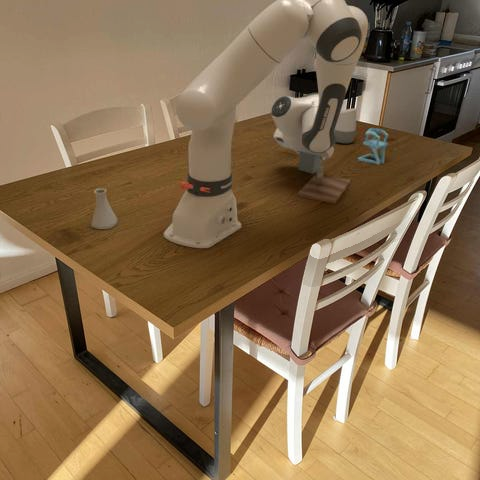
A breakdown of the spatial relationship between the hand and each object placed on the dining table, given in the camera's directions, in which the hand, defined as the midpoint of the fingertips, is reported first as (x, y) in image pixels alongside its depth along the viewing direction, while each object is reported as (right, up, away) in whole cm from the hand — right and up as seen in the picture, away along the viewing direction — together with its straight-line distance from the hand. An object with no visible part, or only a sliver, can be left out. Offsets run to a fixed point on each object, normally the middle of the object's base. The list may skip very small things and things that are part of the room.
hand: (311, 155), depth 169 cm
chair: (+25, 0, +13) cm, 28 cm away
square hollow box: (0, -4, +3) cm, 6 cm away
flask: (-62, -25, -36) cm, 76 cm away
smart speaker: (+18, +11, +32) cm, 38 cm away
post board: (+3, -13, -12) cm, 18 cm away
